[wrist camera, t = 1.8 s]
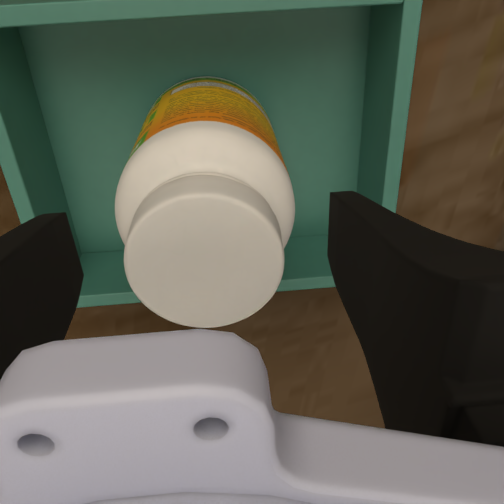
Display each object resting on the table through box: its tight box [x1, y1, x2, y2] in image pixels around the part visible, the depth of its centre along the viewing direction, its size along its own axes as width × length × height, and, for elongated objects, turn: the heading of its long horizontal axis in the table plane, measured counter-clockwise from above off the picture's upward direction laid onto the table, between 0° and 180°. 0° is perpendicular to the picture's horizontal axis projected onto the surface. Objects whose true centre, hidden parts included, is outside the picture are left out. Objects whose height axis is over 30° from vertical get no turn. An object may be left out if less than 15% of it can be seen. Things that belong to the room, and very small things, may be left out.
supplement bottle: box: [115, 76, 295, 328], centre depth 16 cm, size 5×5×10 cm
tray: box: [0, 0, 423, 308], centre depth 18 cm, size 14×11×4 cm
